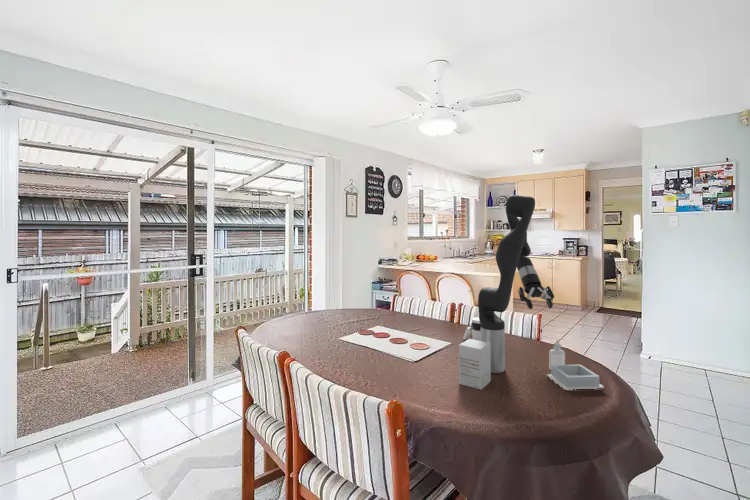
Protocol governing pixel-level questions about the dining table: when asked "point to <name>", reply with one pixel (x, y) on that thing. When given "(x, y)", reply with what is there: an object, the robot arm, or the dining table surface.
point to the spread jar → (474, 330)
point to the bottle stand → (574, 377)
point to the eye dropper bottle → (556, 355)
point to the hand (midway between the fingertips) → (541, 307)
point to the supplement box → (474, 363)
